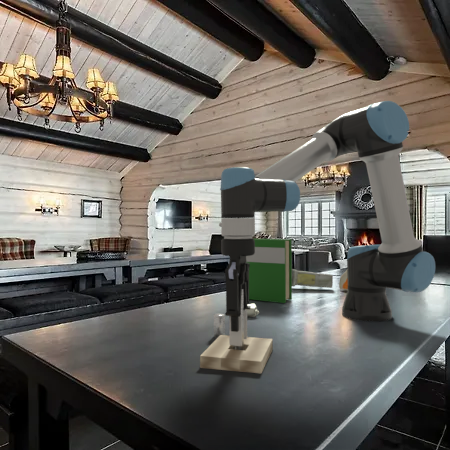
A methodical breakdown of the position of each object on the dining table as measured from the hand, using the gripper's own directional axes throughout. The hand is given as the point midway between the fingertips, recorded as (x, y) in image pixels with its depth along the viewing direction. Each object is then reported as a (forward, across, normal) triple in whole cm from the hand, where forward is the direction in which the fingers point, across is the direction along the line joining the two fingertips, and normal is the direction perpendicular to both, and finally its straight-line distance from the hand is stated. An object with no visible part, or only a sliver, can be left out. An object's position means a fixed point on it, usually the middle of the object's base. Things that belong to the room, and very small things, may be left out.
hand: (238, 341), depth 84 cm
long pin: (+4, 0, 0) cm, 4 cm away
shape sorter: (+4, -99, +34) cm, 105 cm away
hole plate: (+4, 0, 0) cm, 4 cm away
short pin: (+4, -15, -9) cm, 18 cm away
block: (+5, -93, +11) cm, 93 cm away
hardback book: (+4, -67, -4) cm, 68 cm away
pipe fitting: (+3, -36, -5) cm, 36 cm away
